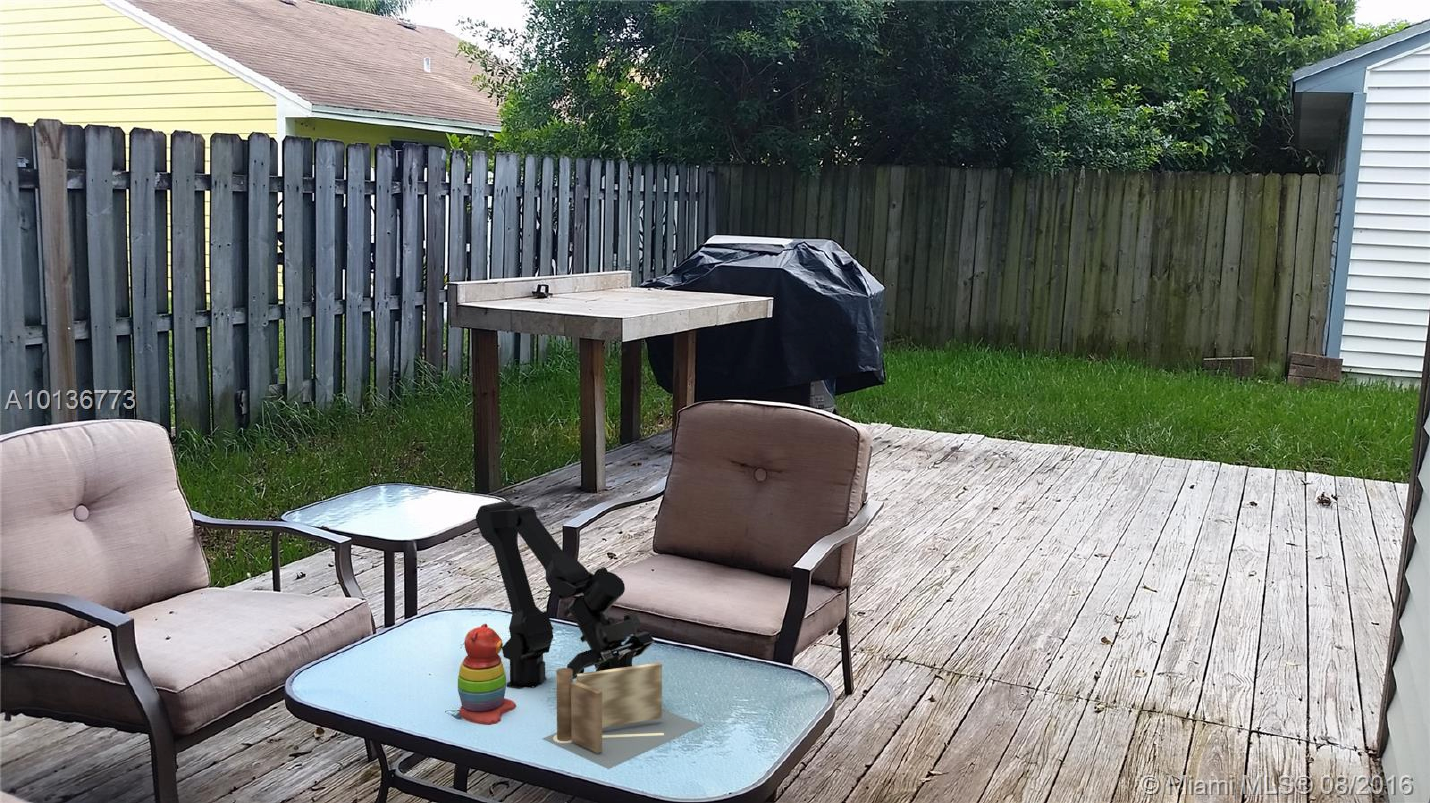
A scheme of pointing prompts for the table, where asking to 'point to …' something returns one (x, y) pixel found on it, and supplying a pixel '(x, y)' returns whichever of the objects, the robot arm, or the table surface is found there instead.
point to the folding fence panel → (628, 693)
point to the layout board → (631, 739)
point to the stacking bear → (483, 678)
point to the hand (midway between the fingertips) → (631, 692)
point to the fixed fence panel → (578, 712)
